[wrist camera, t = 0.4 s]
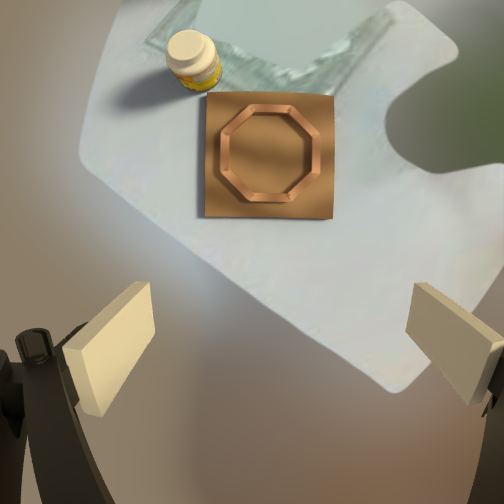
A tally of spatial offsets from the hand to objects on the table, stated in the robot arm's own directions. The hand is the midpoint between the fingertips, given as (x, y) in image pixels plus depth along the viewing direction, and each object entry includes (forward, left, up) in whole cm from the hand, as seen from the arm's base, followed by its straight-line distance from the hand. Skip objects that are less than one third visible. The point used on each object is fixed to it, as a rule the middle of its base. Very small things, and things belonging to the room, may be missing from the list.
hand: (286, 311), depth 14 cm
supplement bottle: (-21, -9, -26) cm, 35 cm away
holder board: (-10, 0, -26) cm, 28 cm away
